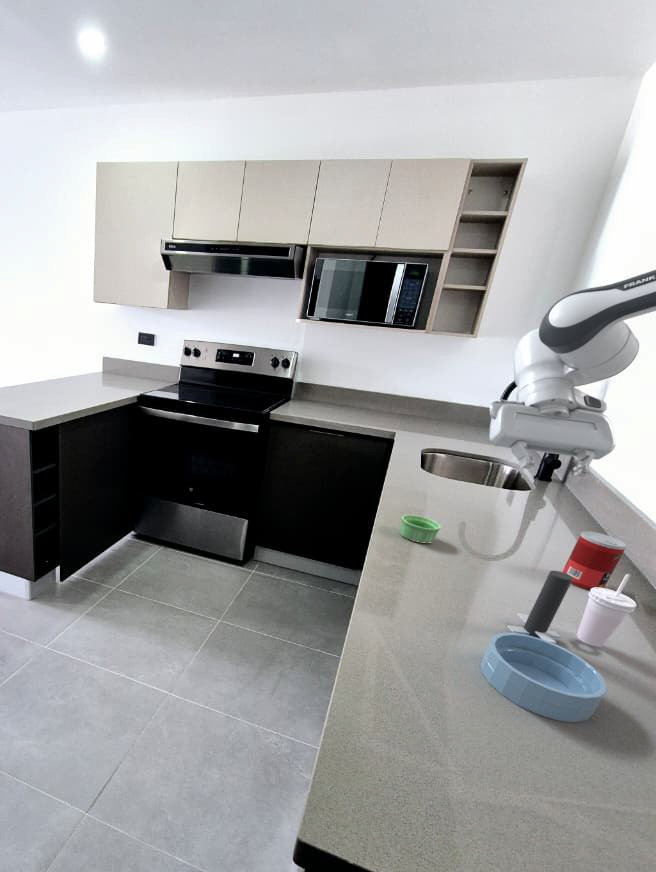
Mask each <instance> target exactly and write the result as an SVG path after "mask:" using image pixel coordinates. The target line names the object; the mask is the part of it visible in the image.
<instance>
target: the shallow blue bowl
mask: <svg viewBox="0 0 656 872" xmlns="http://www.w3.org/2000/svg"><path fill="white" fill-rule="evenodd" d="M479 667H480V671H481V674H482V676H483V677H484V678H485V680H486V681H487V683H488V684H489V685H490V686H491V687H492V688H494V690H496V691H497V692H498V693H499V694H500V695H501V696H503V697H505V699H508V700H509V701H511V702H512V703H514V704H515V705H517V706H519V707H521V708H523V709H525V710H526V711H529V712H531V713H533V714H536V715H539V716H542V717H545V718H548V719H551V720H553V721H559V722H566V723H582V722H586V721H587V720H588V719H590V718H592V717H593V715H594V713H595V711H596V710H597V709H598V707H599V705H600V703H602V702H601V701H602V700H603V698H604V696H605V695H606V693H607V686H608V685H607V682H606V681H605V679H604V677H603V676H602V674H601V673H600V672H599V671H598V670H597V669H596V668H595V667H594V666H592V664H590V663H589V662H587V661H586V660H585V659H583V658H582V657H580V656H579V655H577V654H576V653H575V652H572V651H570V650H568V649H567V648H564V647H563V646H560V645H558V644H557V643H556V644H553V643H551V642H548V641H546V640H544V639H540V638H537V637H533V636H530V635H526V634H519V633H513V632H512V631H511V632H500V633H497V634H495V635H493V636H492V637H491V639H490V641H489V643H488V646H487V648H486V649H485V652H484V654H483V657H482V659H481V661H480V663H479Z"/></svg>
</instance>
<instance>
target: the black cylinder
mask: <svg viewBox="0 0 656 872" xmlns="http://www.w3.org/2000/svg"><path fill="white" fill-rule="evenodd" d="M572 580H573V578H572V577H571V576H570V575H568V574H566V573H563V571H559V570H550V571H549V573H548V575H547V577H546V579H545V581H544V584H543V585H542V587H541V590H540V592H539V594H538V596H537V597H536V600H535V603H534V605H533V607H532V609H531V611H530V613H529V615H528V614H526V613H518V612H517V613H516V616H517V617H518V618H519V619H520V620H521V621H522V622H523V623H525V624H524V625H523V626H518V625H517V626H516V625H510V624H508V625H507V626H506V627H507V628H508V629H509V630H510V631H511V632H512V633H519V634H526V635H530V636H533V637H537V638H540V639H544V640H546V641H548V642H551V643H553V644H556V645H557V641H556V640H555V639H562V636H561V635H560V634H558V633H557V632H556V631H555V630H549V628H550V626H551V624H552V622H553V620H554V618H555V616H556V614H557V612H558V610H559V609H560V607H561V604H562V603H563V600H564V599H565V596H566V594H567V593H568V590H569V588H570V586H571V585H572V584H571V582H572Z"/></svg>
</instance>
